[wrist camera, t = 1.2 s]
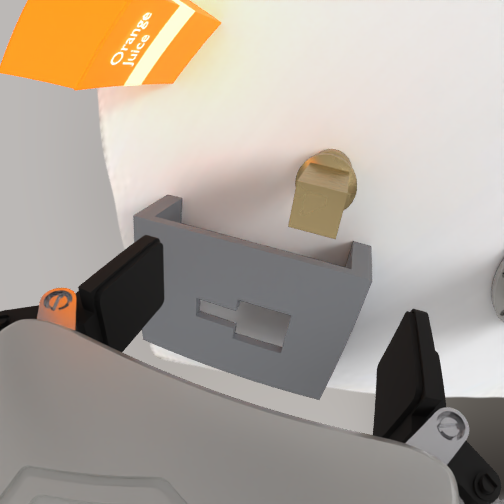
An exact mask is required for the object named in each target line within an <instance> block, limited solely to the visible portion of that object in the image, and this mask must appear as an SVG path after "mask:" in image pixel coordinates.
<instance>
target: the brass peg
mask: <svg viewBox="0 0 504 504" xmlns="http://www.w3.org/2000/svg"><path fill="white" fill-rule="evenodd" d="M295 186H296V190H295V195H294V200H293V205H292V210H291V215H290V220H289V225H288V227H291V228H295V229H299V230H303V231H307V232H310V233H314V234H318V235H322V236H325V237H329V238H333V239H336V235H337V232H338V228H339V224H340V220H341V217H342V213H343V210H345V209H346V208H347V207H349V205H350V204H351V203H352V202H353V200H354V198H355V195H356V191H357V179H356V175H355V172H354V170H353V168H352V166H351V162H350V160H349V158H348V157H347V156H346V155H345V154H344V153H342V152H341V151H339V150H335V149H327V150H324V151H321V152H320V153H319V154H317V155H314V156H312V157H310V158H309V159H308V160H306V161H305V162H304V164H303V165H302V166H301V167H300V169H299V171H298V173H297V176H296V181H295Z"/></svg>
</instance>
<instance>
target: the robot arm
mask: <svg viewBox="0 0 504 504" xmlns="http://www.w3.org/2000/svg"><path fill="white" fill-rule="evenodd" d="M78 288H79V291H78V292H77V293H76V294H75V293H74V291H72V290H70V289H67V288H56V289H53V290H50V291H48V292H47V293H45V294H44V295H43V296H42V298H41V300H40V305H38V306H32V307H25V308H18V309H12V310H4V311H1V312H0V504H504V500H501V501H500V500H499V498H498V496H499V494H500V490H501V482H500V479H499V476H498V475H497V473H496V472H495V471H494V470H493V469H492V468H491V467H490V466H489V464H487V463H486V461H485V460H484V459H483V458H482V457H481V456H480V455H479V454H478V453H477V452H476V451H475V450H474V449H473V448H472V446H471V445H470V444H469V443H468V442H467V441H466V439H467V437H468V435H469V426H468V423H467V420H466V418H465V417H464V416H463V415H462V414H461V413H460V412H459V411H457V410H456V409H453V408H447V407H446V402H445V393H444V385H443V378H442V372H441V366H440V360H439V355H438V353H437V352H436V351H435V348H434V342H433V337H432V331H431V326H430V321H429V317H428V313H427V312H424V311H420V310H416V309H412V310H411V312H408V311H407V312H406V313H405V315H404V317H403V319H402V321H401V323H400V325H399V327H398V329H397V330H396V332H395V334H394V336H393V338H392V340H391V342H390V344H389V346H388V347H387V349H386V351H385V353H384V355H383V357H382V358H381V360H380V362H379V364H378V367H377V380H376V400H375V415H374V428H373V435H369V434H365V433H360V432H355V431H351V430H347V429H342V428H338V427H334V426H330V425H326V424H322V423H318V422H314V421H310V420H306V419H302V418H299V417H295V416H292V415H288V414H284V413H281V412H278V411H274V410H271V409H268V408H264V407H261V406H258V405H255V404H252V403H249V402H246V401H243V400H240V399H236V398H234V397H231V396H228V395H225V394H222V393H219V392H216V391H214V390H211V389H208V388H206V387H203V386H200V385H198V384H195V383H192V382H190V381H187V380H185V379H182V378H180V377H177V376H175V375H172V374H170V373H167V372H165V371H162V370H160V369H158V368H155V367H153V366H151V365H148V364H146V363H144V362H142V361H139V360H137V359H135V358H133V357H130V356H128V355H126V354H124V353H122V352H123V351H124V350H125V348H126V347H127V346H128V345H129V344H130V342H131V341H132V340H133V339H134V338H135V337H136V335H137V334H138V333H139V332H140V331H141V330H142V328H143V327H144V326H145V325H146V324H147V323H148V322H149V320H150V319H151V318H152V317H153V316H154V315H155V313H156V312H157V311H158V310H159V309H160V308H161V306H162V305H163V303H164V256H163V244H162V243H160V239H159V238H156V237H152V236H149V235H144V236H143V237H141V238H140V239H139V240H137V241H136V242H135V243H133V244H132V245H131V246H129V247H128V248H127V249H125V250H124V251H123V252H122V253H120V254H119V255H118V256H116V257H115V258H114V259H113V260H111V261H110V262H109V263H107V265H105V266H104V267H103V268H101V269H100V270H99V271H97V272H96V273H95V274H94V275H92V276H91V277H90V278H89V279H88V280H86V281H85V282H84V283H82V284H81V285H80V286H79V287H78ZM492 302H493V306H494V309H495V311H496V313H497V315H498V317H499V318H500V319H501V320H502V321H503V322H504V259H503V260H502V262H501V264H500V266H499V268H498V270H497V272H496V274H495V277H494V280H493V285H492Z"/></svg>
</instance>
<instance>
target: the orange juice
mask: <svg viewBox="0 0 504 504" xmlns="http://www.w3.org/2000/svg"><path fill="white" fill-rule="evenodd" d="M220 24H221V22H220V21H218V20H217V19H216V18H214V17H213V16H211V15H210V14H209V13H207V12H206V11H204V10H203V9H201V8H200V7H198V6H197V5H196V4H194V3H193V2H191V1H190V0H28V1H27V3H26V5H25V7H24V9H23V11H22V13H21V15H20V18H19V20H18V22H17V24H16V27H15V29H14V31H13V34H12V36H11V38H10V41H9V43H8V46H7V49H6V51H5V54H4V57H3V60H2V63H1V65H0V73H3V74H9V75H14V76H19V77H25V78H30V79H34V80H39V81H43V82H48V83H52V84H57V85H61V86H65V87H69V88H73V89H74V90H82V89H91V88H100V87H111V86H133V85H141V84H170V83H173V82H174V81H175V80H176V78H177V77H178V76H179V74H180V73H181V72H182V70H183V69H184V68H185V66H186V65H187V64H188V63H189V61H190V60H191V59H192V58H193V56H194V55H195V54H196V53H197V51H198V50H199V49H200V48H201V46H202V45H203V44H204V43H205V41H206V40H207V39H208V38H209V37H210V36H211V34H212V33H213V32H214V31H215V30H216V29H217V27H218V26H219V25H220Z"/></svg>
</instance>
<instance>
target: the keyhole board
mask: <svg viewBox="0 0 504 504" xmlns="http://www.w3.org/2000/svg"><path fill="white" fill-rule="evenodd" d="M181 212H182V198H180V197H175V196H171V195H166V196H165V197H163V198H161V199H160V200H158V201H156V202H155V203H153V204H152V205H150V206H148V207H147V208H145V209H143V210H142V211H140V212H139V213H137V214H135V215H134V241H135V242H136V241H137V240H139V239H140V238H141V237H143V236H144V235H149V236H152V237H156V238H159V239H160V243H162V244H163V256H164V303H163V305H162V306H161V308H160V309H159V310H158V311H157V312H156V313H155V315H154V316H153V317H152V318H151V319H150V320H149V322H148V323H147V324H146V325H145V326H144V327H143V328H142V333H143V339H144V340H146V341H148V342H150V343H153V344H155V345H157V346H160V347H162V348H165V349H167V350H170V351H172V352H174V353H177V354H180V355H182V356H185V357H187V358H190V359H192V360H195V361H198V362H200V363H203V364H206V365H209V366H211V367H214V368H217V369H220V370H223V371H225V372H228V373H231V374H234V375H237V376H240V377H243V378H246V379H249V380H252V381H255V382H259V383H262V384H265V385H268V386H271V387H275V388H278V389H282V390H285V391H289V392H292V393H295V394H299V395H303V396H306V397H310V398H314V399H318V400H319V399H320V397H321V396H322V394H323V391H324V390H325V388H326V386H327V383H328V381H329V379H330V377H331V375H332V373H333V371H334V369H335V367H336V365H337V363H338V361H339V358H340V356H341V354H342V352H343V350H344V347H345V345H346V343H347V341H348V338H349V336H350V334H351V332H352V329H353V327H354V325H355V322H356V320H357V318H358V315H359V313H360V310H361V308H362V305H363V303H364V300H365V298H366V295H367V293H368V290H369V288H370V285H371V283H372V256H371V246H368V245H365V244H361V243H358V242H354V241H353V244H352V248H351V251H350V254H349V257H348V261H347V264H346V267H342V266H338V265H334V264H331V263H327V262H323V261H320V260H316V259H312V258H309V257H305V256H301V255H298V254H294V253H290V252H287V251H283V250H279V249H276V248H272V247H268V246H264V245H261V244H257V243H253V242H250V241H246V240H242V239H238V238H235V237H231V236H227V235H223V234H220V233H216V232H212V231H208V230H205V229H201V228H197V227H193V226H189V225H186V224H182V223H181ZM200 299H201V300H204V301H207V302H210V303H213V304H216V305H219V306H222V307H226V308H229V309H232V310H235V311H236V310H237V308H238V306H239V303H240V300H241V301H244V302H247V303H250V304H254V305H257V306H260V307H264V308H267V309H270V310H274V311H277V312H281V313H284V314H288V315H291V318H290V322H289V326H288V329H287V333H286V336H285V340H284V343H283V347H280V346H276V345H273V344H270V343H266V342H263V341H260V340H257V339H253V338H250V337H247V336H244V335H241V334H238V333H235V331H236V324H237V323H235V322H232V321H228V320H225V319H222V318H219V317H216V316H213V315H210V314H207V313H204V312H201V311H199V310H200Z"/></svg>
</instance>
